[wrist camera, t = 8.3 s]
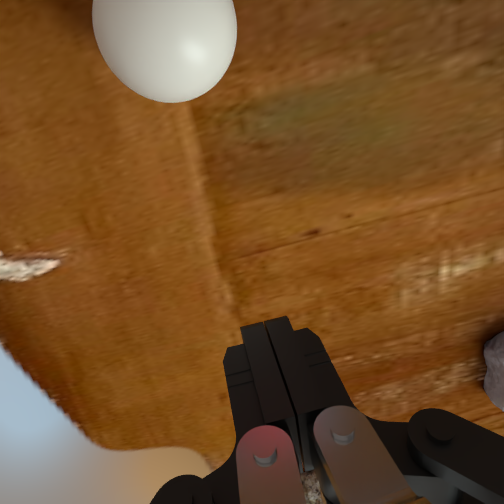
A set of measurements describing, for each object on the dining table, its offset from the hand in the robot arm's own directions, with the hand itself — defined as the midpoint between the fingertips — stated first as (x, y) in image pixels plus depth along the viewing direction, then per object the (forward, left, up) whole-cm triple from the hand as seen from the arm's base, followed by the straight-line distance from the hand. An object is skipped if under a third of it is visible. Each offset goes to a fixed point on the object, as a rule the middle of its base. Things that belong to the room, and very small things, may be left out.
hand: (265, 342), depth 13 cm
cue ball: (-9, -1, -11) cm, 14 cm away
